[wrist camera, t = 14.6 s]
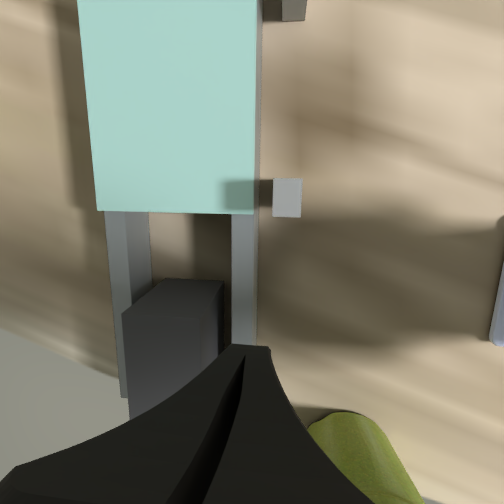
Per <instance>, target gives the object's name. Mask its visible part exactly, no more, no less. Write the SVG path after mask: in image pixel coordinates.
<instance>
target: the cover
mask: <svg viewBox="0 0 504 504" xmlns="http://www.w3.org/2000/svg"><path fill="white" fill-rule="evenodd" d="M77 5H78V15H79V26H80V36H81V47H82V57H83V68H84V78H85V89H86V99H87V109H88V120H89V130H90V141H91V151H92V162H93V172H94V183H95V193H96V203H97V211H129V212H170V213H211V214H251V215H253V214H254V172H255V107H256V42H257V0H77Z"/></svg>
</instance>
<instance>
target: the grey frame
mask: <svg viewBox="0 0 504 504" xmlns="http://www.w3.org/2000/svg"><path fill="white" fill-rule="evenodd" d="M306 5H307V0H282V21H302V20H305V13H306ZM262 16H263V0H257V42H256V107H255V172H254V214H253V215H251V214H232V343H233V344H244V345H256V333H257V280H258V228H259V175H260V122H261V69H262ZM302 180H303V179H289V178H273V211H272V217H301V200H302ZM104 217H105V228H106V239H107V250H108V261H109V272H110V283H111V294H112V305H113V316H114V327H115V338H116V349H117V360H118V371H119V382H120V392H121V398H128V392H127V380H126V367H125V355H124V343H123V330H122V318H121V313H123V312H124V311H125V310H126V309H128V308H129V307H130V306H131V305H133V304H134V303H135V302H136V301H138V300H139V299H140V298H141V297H143V296H144V295H145V294H146V293H148V292H149V291H150V290H151V289H153V286H152V269H151V252H150V236H149V219H148V212H129V211H104Z"/></svg>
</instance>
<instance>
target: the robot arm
mask: <svg viewBox="0 0 504 504" xmlns="http://www.w3.org/2000/svg"><path fill="white" fill-rule="evenodd" d="M489 340H490V341H491V342H492V343H493V344H495V345H496V346H503V347H504V263H503V268H502V273H501V278H500V283H499V288H498V293H497V298H496V303H495V308H494V313H493V318H492V323H491V328H490V333H489ZM0 504H375V503H374V502H373V501H372V500H370V499H369V498H368V497H367V496H366V495H365V494H364V493H363V492H361V491H360V490H359V489H358V488H357V487H356V486H355V485H354V484H353V483H352V482H351V481H350V480H349V479H348V478H347V477H346V476H345V475H344V474H343V473H342V472H341V471H340V470H339V469H338V468H337V467H336V466H335V464H334V463H333V462H332V461H331V460H330V458H329V457H328V456H327V455H326V454H325V452H324V451H323V450H322V449H321V448H320V447H319V445H318V444H317V443H316V442H315V440H314V439H313V438H312V436H311V435H310V433H309V432H308V431H307V429H306V428H305V426H304V425H303V423H302V422H301V420H300V419H299V417H298V416H297V414H296V412H295V411H294V409H293V407H292V406H291V404H290V402H289V400H288V398H287V396H286V394H285V392H284V390H283V388H282V386H281V384H280V381H279V379H278V376H277V374H276V371H275V368H274V365H273V362H272V358H271V350H270V349H269V347H267V346H256V345H244V344H233V343H231V344H230V345H229V346H228V347H227V348H226V349H225V350H224V351H223V352H222V353H221V354H220V355H219V356H218V357H217V358H216V359H215V360H214V361H213V362H212V363H211V364H209V365H208V366H207V367H206V368H205V369H204V370H203V371H202V372H201V373H200V374H198V375H197V376H196V377H195V378H194V379H192V380H191V381H190V382H189V383H187V384H186V385H185V386H184V387H182V388H181V389H180V390H179V391H177V392H176V393H174V394H173V395H172V396H170V397H169V398H167V399H166V400H164V401H162V402H161V403H159V404H158V405H156V406H155V407H153V408H151V409H150V410H148V411H146V412H144V413H142V414H141V415H139V416H137V417H135V418H133V419H131V420H129V421H128V422H126V423H124V424H122V425H120V426H118V427H116V428H114V429H112V430H110V431H107V432H105V433H103V434H101V435H99V436H97V437H94V438H92V439H89V440H87V441H85V442H83V443H80V444H77V445H75V446H72V447H70V448H68V449H64V450H62V451H59V452H56V453H53V454H51V455H48V456H45V457H42V458H39V459H36V460H33V461H31V462H28V463H25V464H22V465H19V466H16V467H14V469H12V471H10V472H9V473H8V474H7V475H6V476H5V477H4V478H3V480H1V482H0Z"/></svg>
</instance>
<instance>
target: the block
mask: <svg viewBox="0 0 504 504" xmlns="http://www.w3.org/2000/svg"><path fill="white" fill-rule="evenodd" d="M121 318H122V330H123V343H124V355H125V367H126V380H127V392H128V404H129V415H130V416H129V417H130V420H131V419H133V418H135V417H137V416H139V415H141V414H142V413H144V412H146V411H148V410H150V409H151V408H153V407H155V406H156V405H158V404H159V403H161V402H162V401H164V400H166V399H167V398H169V397H170V396H172V395H173V394H174V393H176V392H177V391H179V390H180V389H181V388H182V387H184V386H185V385H186V384H187V383H189V382H190V381H191V380H192V379H194V378H195V377H196V376H197V375H198V374H200V373H201V372H202V371H203V370H204V369H205V368H206V367H207V366H208V365H209V364H211V363H212V362H213V361H214V360H215V359H216V358H217V357H218V356H219V355H220V354H221V353H222V352H223V351H224V281H214V280H195V279H175V278H165V279H164V280H163V281H161V282H160V283H159V284H158V285H156V286H155V287H154V288H153V289H151V290H150V291H149V292H148V293H146V294H145V295H144V296H143V297H141V298H140V299H139V300H138V301H136V302H135V303H134V304H133V305H131V306H130V307H129V308H128V309H126V310H125V311H124V312H123V313H121Z"/></svg>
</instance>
